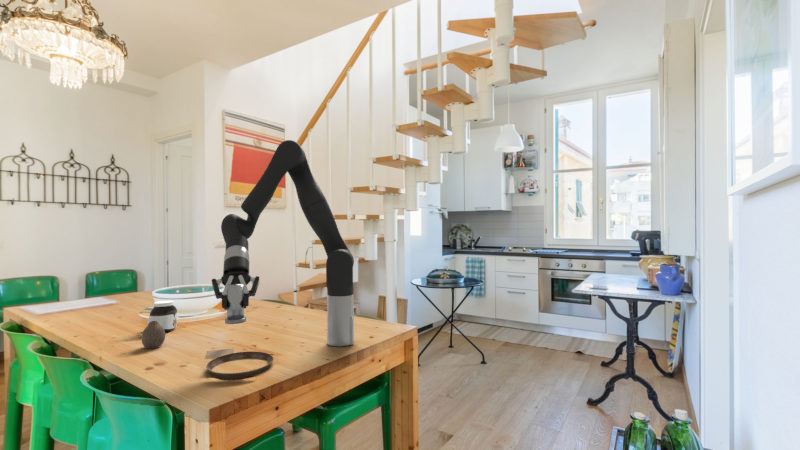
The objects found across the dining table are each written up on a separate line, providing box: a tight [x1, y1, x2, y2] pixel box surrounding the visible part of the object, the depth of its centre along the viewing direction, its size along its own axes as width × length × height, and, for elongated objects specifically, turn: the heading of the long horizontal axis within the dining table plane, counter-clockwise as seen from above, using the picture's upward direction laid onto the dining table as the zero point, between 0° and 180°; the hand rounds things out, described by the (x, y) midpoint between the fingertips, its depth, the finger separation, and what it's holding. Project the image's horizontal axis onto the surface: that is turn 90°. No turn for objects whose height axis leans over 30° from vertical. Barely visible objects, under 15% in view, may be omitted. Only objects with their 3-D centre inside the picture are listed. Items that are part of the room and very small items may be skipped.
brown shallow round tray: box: [206, 350, 274, 381], centre depth 109 cm, size 18×18×3 cm
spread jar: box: [146, 300, 178, 334], centre depth 154 cm, size 12×11×12 cm
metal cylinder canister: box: [224, 283, 247, 325], centre depth 113 cm, size 6×6×11 cm
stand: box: [204, 348, 235, 360], centre depth 122 cm, size 8×8×1 cm
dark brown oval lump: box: [140, 321, 166, 350], centre depth 132 cm, size 7×7×9 cm
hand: (235, 307), depth 111 cm, fingers closed on metal cylinder canister, 4 cm apart
